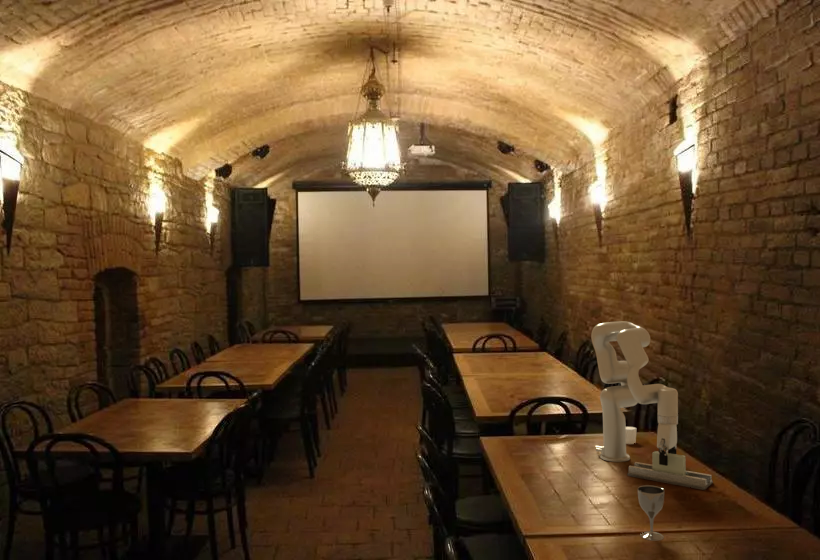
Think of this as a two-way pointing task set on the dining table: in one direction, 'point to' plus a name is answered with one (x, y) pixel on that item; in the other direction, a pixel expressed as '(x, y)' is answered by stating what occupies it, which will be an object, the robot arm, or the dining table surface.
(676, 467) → the door panel
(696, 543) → the dining table surface
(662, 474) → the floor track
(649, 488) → the wine glass
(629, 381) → the robot arm
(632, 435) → the shot glass
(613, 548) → the dining table surface
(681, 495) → the dining table surface
